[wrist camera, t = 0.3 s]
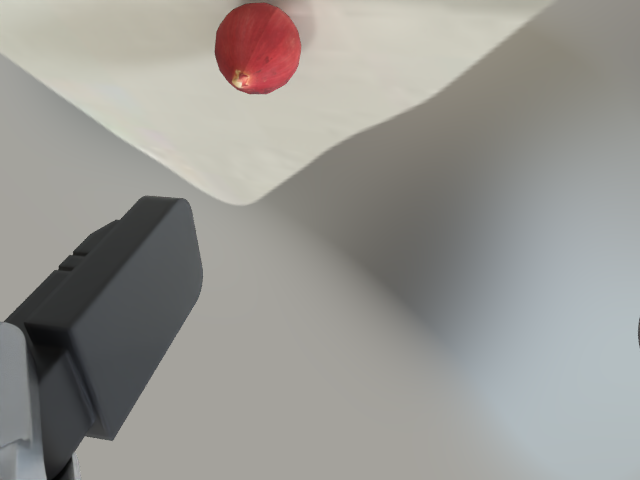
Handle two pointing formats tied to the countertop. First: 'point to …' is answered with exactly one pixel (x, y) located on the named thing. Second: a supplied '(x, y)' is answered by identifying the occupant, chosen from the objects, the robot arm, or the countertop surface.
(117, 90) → the countertop surface
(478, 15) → the countertop surface
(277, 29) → the onion
